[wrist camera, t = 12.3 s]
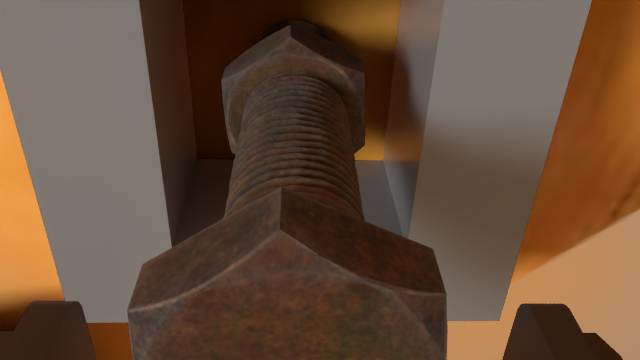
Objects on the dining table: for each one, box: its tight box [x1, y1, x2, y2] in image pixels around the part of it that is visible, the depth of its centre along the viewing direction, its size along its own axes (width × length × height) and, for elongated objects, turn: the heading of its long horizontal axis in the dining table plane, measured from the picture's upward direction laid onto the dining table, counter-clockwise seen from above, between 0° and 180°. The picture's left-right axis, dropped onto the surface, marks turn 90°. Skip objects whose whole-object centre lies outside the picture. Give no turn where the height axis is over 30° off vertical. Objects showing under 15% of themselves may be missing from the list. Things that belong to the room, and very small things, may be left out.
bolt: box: [127, 20, 447, 360], centre depth 16 cm, size 6×5×15 cm
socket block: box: [0, 0, 592, 323], centre depth 19 cm, size 16×16×6 cm
